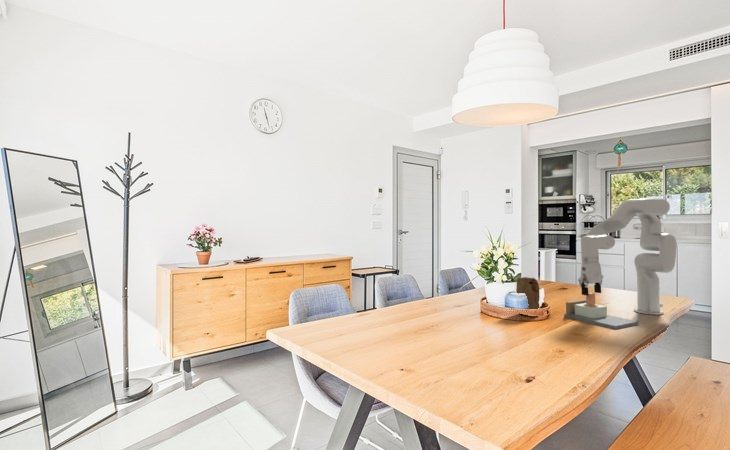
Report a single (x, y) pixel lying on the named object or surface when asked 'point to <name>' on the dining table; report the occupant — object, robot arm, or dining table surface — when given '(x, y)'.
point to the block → (529, 290)
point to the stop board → (603, 321)
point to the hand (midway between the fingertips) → (591, 293)
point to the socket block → (591, 311)
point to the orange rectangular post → (590, 300)
